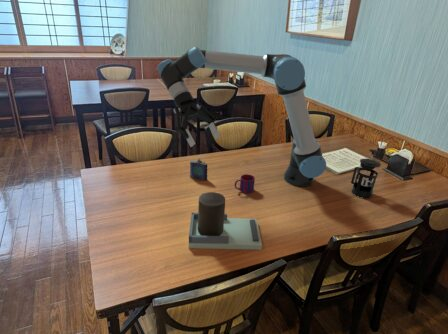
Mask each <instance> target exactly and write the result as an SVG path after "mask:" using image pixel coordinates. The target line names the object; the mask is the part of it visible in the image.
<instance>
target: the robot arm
mask: <svg viewBox="0 0 448 334" xmlns="http://www.w3.org/2000/svg"><path fill="white" fill-rule="evenodd" d="M156 68H157V72H158V75H159V77H160V79H161V81H162V82H163V84H164V86H165V88H166V90H167V91H168V93H169V95H170V97H171V100H173V102H174V105H175V107H174V108H173V109H172V113H173V115H174V117H173V118H174V130H175V131H174V132H175V133H179V134H181V135H182V136H183V138H184V139H185V140H186V141H187V143H188V144H189V147H190V148H192V147H193V146H194V145H196V142H195V140H194V138H193V136H192V134H191V133H190V131H189V129H188V128H186V126H187V123H188V121H187V120H188V118H190V117H191V118H193V117H195V118H199V120H202V121H203V122H205V123H206V124H208V128H209V130H210V132H211V134H212V135H213V137H214V139H215V140H217V139H219V138H220V137H221V134H220V132H219V130H218V127H217V125H216V124H215V122H216V121H217V117H216V116H215V115H214V114H212V113H211V111H209V110H208V109H207V108H206V107H205V106H204V104H203V103H202V102H201V101H200V102H199V103H195V100H194V99H195V98H194V97H193V95H192V93H191V92H190V90H189V88H188V86H187V85H186V83H185V81H184V79H185V78H187V77H188V76H189V75H191V74H192V73H194V72H195V71H196V70H198V69H207V70H208V69H210V70H217V71H226V72H236V73H247V74H256V75H260V76H261V77H263V78H269V79H273V80H274V84H275V87H276V91H277V94H278V96H280V97H282V99H283V102H284V106H285V110H286V113H287V117H288V120H289V125H290V129H291V133H292V136H293V141H292V144H291V145H292V147H291V153H290V157H289V158H290V159H289V163H288V166H287V168H286V170H285V172H284V176H283V179H284V181H285V182H287V183H288V184H290V185H292V186H297V187H309V186H312V185H313V183H314V180H315V178H318V177H320V176H321V175H323V174H324V172H325V170H326V169H327V161H326V159H325V158H324V156H323V153H322V152H323V151H322V148H321V144H320V142H319V141H318V139H316V137H315V134H314V129H313V125H312V122H311V118H310V114H309V109H308V104H307V101H306V96H305V93H304V91H305V89H306V87H307V84H306V79H305V77H306V70H305V67H304V64H303V63H302V62H301V60H299V59H298V58H296V57H294V56H292V55H290V54H285V53H284V54H273V53H272V54H271V53H265V54H264V55H254V54H245V53H244V54H243V53H235V52H224V51H216V50H215V51H214V50H204V49H200V48H199V47H198V46H194V47H192V48H190V49H188V50H187V51H186V52H185V53H183V55H181V56H180V57H178V58H177V59H175V60H174V61H173V60H172V59H169V58H168V59H165V60H163V61H161V62H160V63H158V65H157V67H156ZM181 114H182V115H181Z"/></svg>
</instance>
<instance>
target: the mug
mask: <svg viewBox="0 0 448 334" xmlns="http://www.w3.org/2000/svg"><path fill="white" fill-rule="evenodd" d="M255 180H256V178H255V176H254V175H253V174H248V173H247V174H242V175H240V179H237V180H235V182H234V188H235V190H238V191H240V192H241V193H243V194H251V193H253V192H254V190H255V189H254V188H255ZM238 182H239V187H237V183H238Z"/></svg>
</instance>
